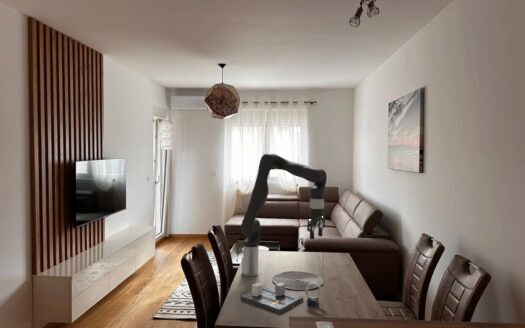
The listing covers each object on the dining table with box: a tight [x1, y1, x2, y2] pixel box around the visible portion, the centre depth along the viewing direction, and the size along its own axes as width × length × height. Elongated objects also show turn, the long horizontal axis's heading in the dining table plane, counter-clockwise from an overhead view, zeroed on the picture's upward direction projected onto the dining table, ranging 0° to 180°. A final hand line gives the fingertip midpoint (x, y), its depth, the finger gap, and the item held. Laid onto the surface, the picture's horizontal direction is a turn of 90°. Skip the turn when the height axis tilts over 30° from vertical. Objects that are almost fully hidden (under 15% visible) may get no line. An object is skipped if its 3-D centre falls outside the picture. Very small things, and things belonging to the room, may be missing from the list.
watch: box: [304, 280, 322, 308], centre depth 181 cm, size 6×8×11 cm
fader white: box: [251, 282, 263, 297], centre depth 186 cm, size 3×4×5 cm
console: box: [240, 284, 304, 315], centre depth 185 cm, size 24×20×2 cm
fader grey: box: [274, 282, 286, 296], centre depth 187 cm, size 3×4×5 cm
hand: (316, 237), depth 196 cm, fingers open, 8 cm apart
